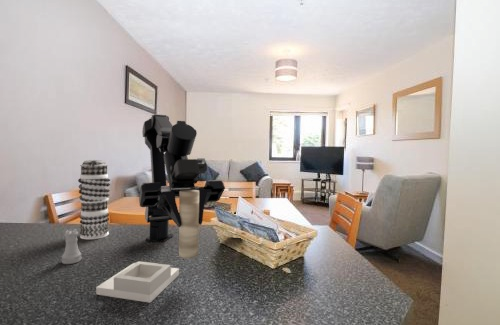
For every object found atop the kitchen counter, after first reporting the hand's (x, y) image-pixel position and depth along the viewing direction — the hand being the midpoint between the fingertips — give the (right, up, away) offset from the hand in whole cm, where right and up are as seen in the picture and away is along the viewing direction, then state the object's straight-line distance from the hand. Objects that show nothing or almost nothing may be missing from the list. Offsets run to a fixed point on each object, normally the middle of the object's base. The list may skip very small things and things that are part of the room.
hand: (190, 224), depth 58 cm
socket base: (-11, -13, +1) cm, 17 cm away
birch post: (-1, -7, +2) cm, 7 cm away
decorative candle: (-39, -11, +33) cm, 52 cm away
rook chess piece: (-33, -12, +12) cm, 38 cm away
